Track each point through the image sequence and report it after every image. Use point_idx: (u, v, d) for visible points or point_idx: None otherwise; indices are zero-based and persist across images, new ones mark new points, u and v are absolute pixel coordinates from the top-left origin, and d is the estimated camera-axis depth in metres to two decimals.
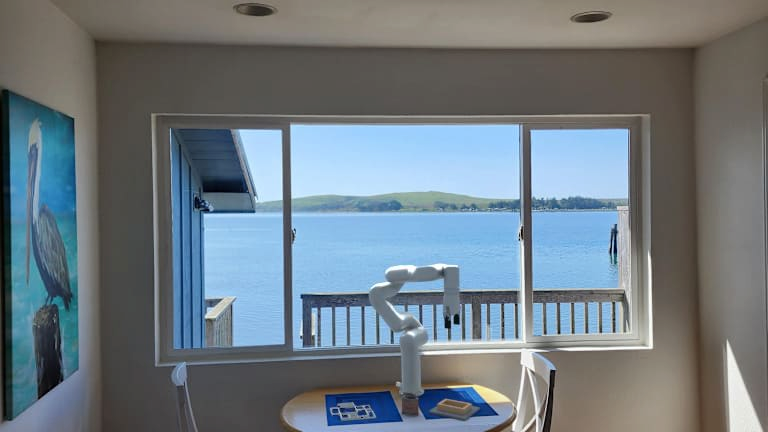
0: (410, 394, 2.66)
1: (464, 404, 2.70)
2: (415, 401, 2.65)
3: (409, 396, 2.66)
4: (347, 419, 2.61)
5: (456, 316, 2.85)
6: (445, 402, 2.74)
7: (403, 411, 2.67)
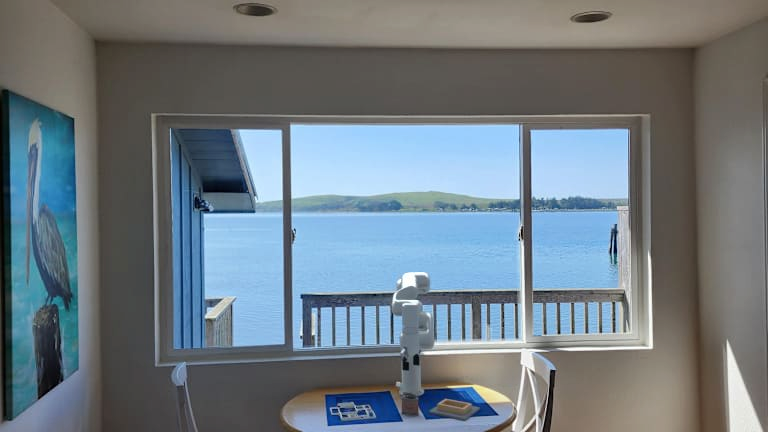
0: (410, 394, 2.66)
1: (464, 404, 2.70)
2: (415, 401, 2.65)
3: (409, 396, 2.66)
4: (347, 419, 2.61)
5: (416, 356, 2.71)
6: (445, 402, 2.74)
7: (403, 411, 2.67)
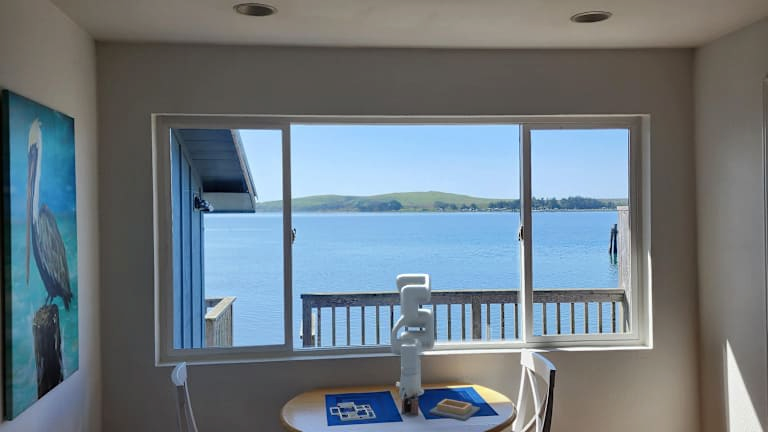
0: None
1: (464, 404, 2.70)
2: (415, 401, 2.65)
3: None
4: (347, 419, 2.61)
5: None
6: (445, 402, 2.74)
7: (403, 411, 2.67)
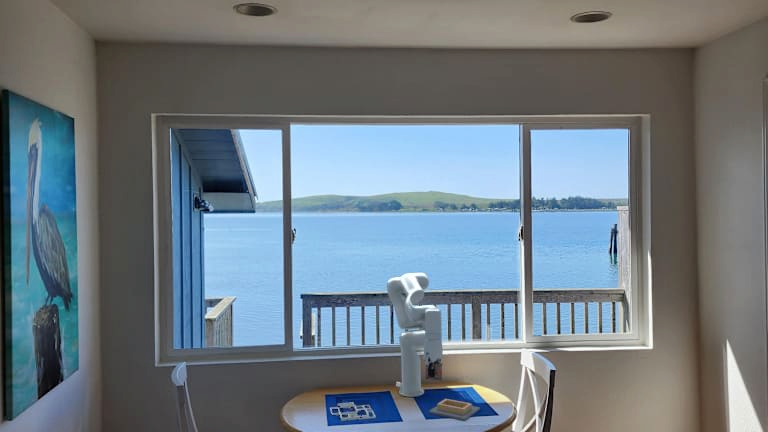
0: None
1: (464, 404, 2.70)
2: (439, 366, 2.65)
3: None
4: (347, 419, 2.61)
5: None
6: (445, 402, 2.74)
7: (427, 376, 2.68)
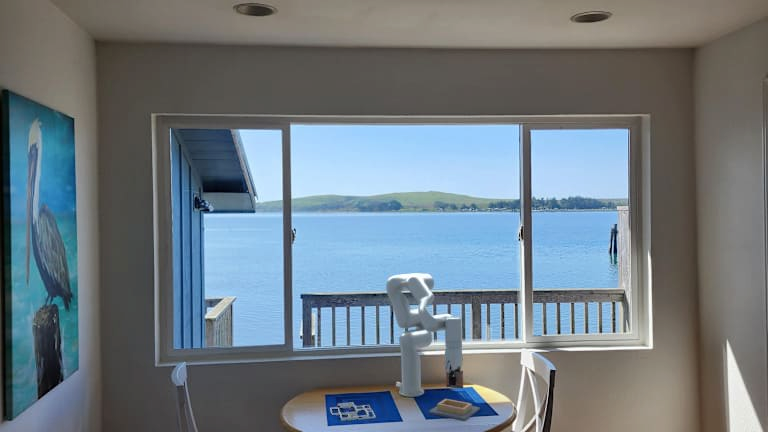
0: None
1: (464, 404, 2.70)
2: (460, 374, 2.67)
3: None
4: (347, 419, 2.61)
5: None
6: (445, 402, 2.74)
7: (448, 384, 2.69)
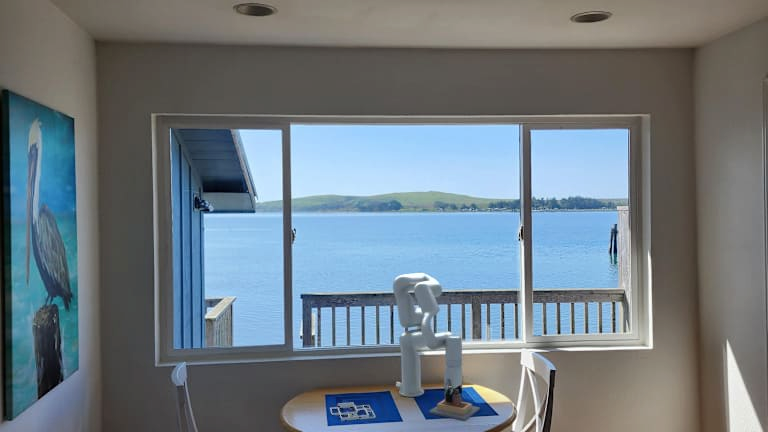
0: (453, 390, 2.68)
1: (464, 404, 2.70)
2: (458, 397, 2.66)
3: (452, 392, 2.68)
4: (347, 419, 2.61)
5: (458, 387, 2.73)
6: None
7: None
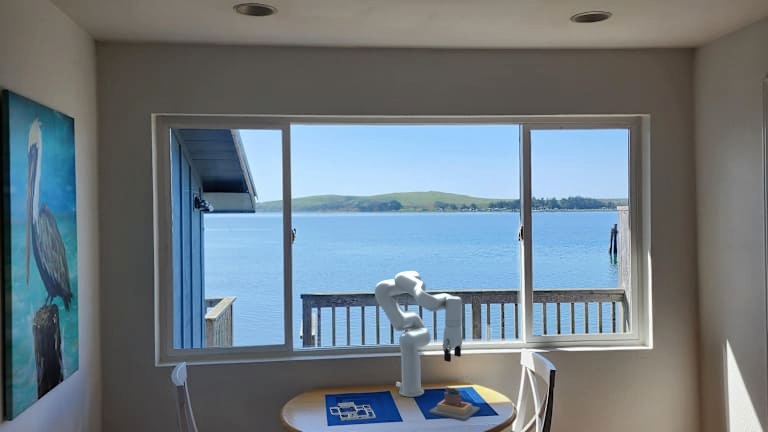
0: (453, 390, 2.68)
1: (464, 404, 2.70)
2: (458, 397, 2.66)
3: (452, 392, 2.68)
4: (347, 419, 2.61)
5: (457, 348, 2.80)
6: None
7: None
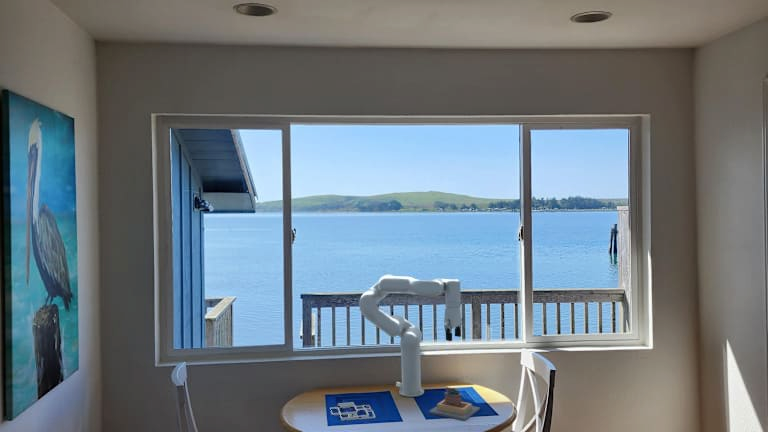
0: (453, 390, 2.68)
1: (464, 404, 2.70)
2: (458, 397, 2.66)
3: (452, 392, 2.68)
4: (347, 419, 2.61)
5: (457, 328, 2.94)
6: None
7: None
